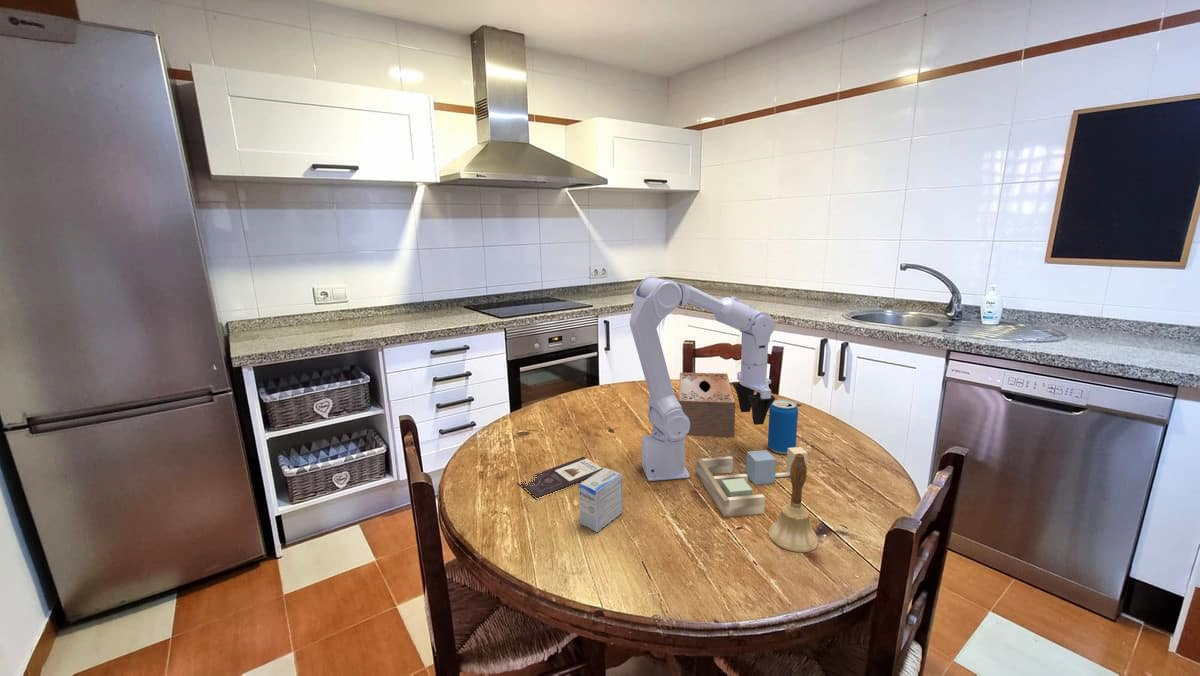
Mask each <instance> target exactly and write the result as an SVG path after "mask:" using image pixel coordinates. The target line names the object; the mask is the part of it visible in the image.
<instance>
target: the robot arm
mask: <svg viewBox="0 0 1200 676" xmlns="http://www.w3.org/2000/svg"><path fill="white" fill-rule="evenodd" d="M633 297H634V298H633V299H634V300H633V305H632V309H631V314H630V319H629V326H630V331H631V335H632V336H633V340H634V344H635V348H636V352H637V354H638V358H639V359H638V360H639V362H640V365H641V369H642V373H643V377H644V380H645V383H646V387H647V390H648V394H649V396H650V397H649V398H648V399H647V403H648V410H647V418H648V421H649V422H650V423H651V424H652V431H651V433H650V434H647V435H643V436H642V438H641V467H642V469H643V471H644V474H645V476H646V477H645V478H647V481H649V482H657V481H666V480H677V479H678V480H679V479H688V478H690V477H691V475H690V473H689V471H688V469H687V468H686V466H685V439H686V437H687V436H686V435H687V434H688V432H689V430H690V421H689V418H688V417H687V416H686V415H685V414H684V413H683V410H682V407H681V405H680V403H679V399H678V398H677V397H676V395H675V393H674V392H675V391H674V389H673V385H672V380H671V378H670V374H669V370H668V366H667V362H666V359H665V355H664V352H663V351H664V350H663V348H662V342H661V339H660V335H659V333H658V330H657V328H658V327H659V325H660V323H661V322H662V320H664V319H665V318H666V317H668V316H669V315H670V313H672V312H673V311H674V310H675V309H676V308H677V307H678V306H681V307H683V306H686V305H688V304H690V305H692V306H694V307H696V308H700V309H702V310H705V311H708V312H710V313H713V316H714V318H715V320H716V321H717V322H719V323H721V324H723V325H726V326H729V327H731V328H733V329H735V330H737V331H739V332H740V333H741V355H740V356H741V358H740V371H737V374H736V376H737V377H736V379H737V380H738V382H733V383H732V386H733V388H734V390H735V393H736V396H737V400H738V405H739V410H740V412H741V413H750V412H751V415H752V423H753V425H755V426H758V425H764V424H765V420H766V417H767V415H768V413H769V412H768V411H769V408H770V406H771V404H772V403H773V402H774V401H775V400H776V398H775V396H774V395H773V394H772V389H770V387H769V384H772V380H771V379H769V378H767V377H768V375H767V374H768V373H767V371H768V355H769V354H768V353H769V352H768V351H769V343H770V341H771V339H770V338H771V336H772V334H773V332H774V331H775V328H776V323H774V319H773V318H772V316H771V315H770V314H769V313H768V312H764V311H761V310H756V306H755V305H753V304H752V305H751V304H749V305H747V304H745V303H742V302H740V298H738V297H736V296H731V297H728V296H726V297H723V298H721V299H719V298H716V297H715V296H713V295H710V294H709V293H706V292H704V291H703V290H700V289H698V288H696V287H693V286H692V285H690V284H685V283H681V282H676V281H675V280H671V279H664V278H658V277H656V276H648V277H644V278H643V279H642V280H641V281H640V282H639V284H638V285H637V287H636V288H635V290H633ZM755 392H756V393H755Z"/></svg>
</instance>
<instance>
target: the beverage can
mask: <svg viewBox="0 0 1200 676" xmlns="http://www.w3.org/2000/svg"><path fill="white" fill-rule="evenodd" d="M797 406H798V405H797V403H796V402H794V401H792V400H788V399H775V401H774V402H773V403H772V404H771V406H770V407H769V409H768V411H769V412H768V429H767V430H768V432H767V447H768V448H769V449H770V450H771V451H772V452H774V453H776V454H780V455H787V452H788V448H793V447H797V434H798V418H799V408H798V407H797Z"/></svg>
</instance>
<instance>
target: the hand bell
mask: <svg viewBox="0 0 1200 676" xmlns="http://www.w3.org/2000/svg"><path fill="white" fill-rule="evenodd" d="M807 470H808V466H807V467H806V463H805V460H804V455H803V454H800V453H798V454H796V455H795V458H794V460H793V462H792V465H791V469H790V476H789V477H790V483H791V486H792V488H791V489H792V490H791V497H790V503H786V504H784V505H783V506H782V507H781V510H780V514H779V517H778V519H777V521H776V522H774V523H772V524H771V525H770V527H769V529H768V531H767V533H768V537H769V539H770V540H771V541H772V542H773V543H774V544H776V545H777V546H778V547H779V548H782V549H784V550H787V551H791V552H794V553H801V554H802V553H810V552H812V551H814V550H816V549H817V548H818V547H819V544H820V541H819V537H818V535H817V534H816V532H815V531H814V530H813V529H812V527H811V523H810V513H809V511H808V509H807V508H806V507H804V506H803V505H802V501H803V499H802V494H803V487H804V485H805V482H806V479H807V474H808V471H807Z"/></svg>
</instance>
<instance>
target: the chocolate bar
mask: <svg viewBox="0 0 1200 676" xmlns="http://www.w3.org/2000/svg"><path fill="white" fill-rule="evenodd" d="M602 469H604V467H601V466H600V465H598V464H597V463H595V462H593V461H591V460H590V459H588V458H587V457H585V456H581V457H579V458H576V459H574V460H570V461H568V462H564V463H563V464H562V463H561V464H559V465H557V466H553V467H551V468H548V469H546V470H543V471H541V472H542V473H540V472H537V473H536V474H534V475H537V476H535V477H537V478H535V481H534V480H533V482H532V481H531V482H529V483H530V484H529V483H528V485H527V484H526V485H527V486H526V485H525V483H526V481H525V483H524V482H523V483H524V484H523V483H522V482H521V483H522V484H521V485H522V486H523V487H524V488H526V489H527V490H528V491H529V492H530V493H531V494H532V495H534V496H535V497H536V498H539V497H542V496H544V495H547V494H550V493H553V492H555V491H558V490H561V489H564V488H566V487H569V486H571V485H573V484H576V483H579V482H581V481H584V480H586V479H588V478H589V477H591V476H593V475H594V474H596V473H597V472H599V471H601V470H602ZM539 473H540V474H539ZM541 474H542V475H541ZM533 477H534V476H533ZM533 479H534V478H533ZM531 480H532V479H531ZM539 481H540V482H539ZM533 483H534V484H535V485H534V484H533ZM581 483H582V482H581ZM579 484H580V483H579ZM530 485H531V486H530ZM532 485H533V486H532ZM576 485H577V484H576ZM571 487H572V486H571ZM569 488H570V487H569ZM564 490H565V489H564Z"/></svg>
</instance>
